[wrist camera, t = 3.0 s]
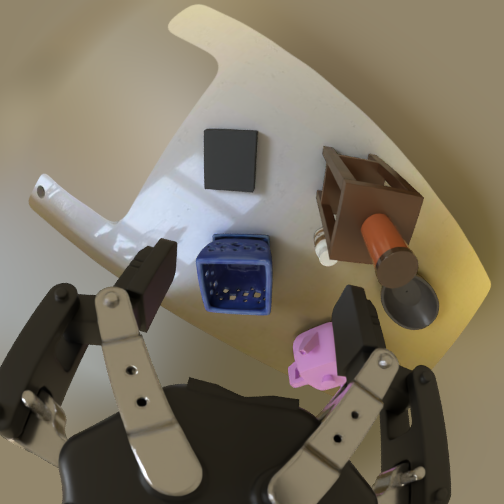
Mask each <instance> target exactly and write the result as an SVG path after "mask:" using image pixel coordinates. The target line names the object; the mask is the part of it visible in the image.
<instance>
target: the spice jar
mask: <svg viewBox="0 0 504 504" xmlns="http://www.w3.org/2000/svg"><path fill="white" fill-rule="evenodd" d="M361 235H362V238H363V240H364V243H365V245H366V248H367V250H368V253H369V255H370V258H371V260H372V263H373V265H374V268H375V273H376V276H377V279H378V281H379V283H380V284H381V285H383V286H384V287H387V288H399V287H402V286H404V285H406V284H407V283H409V282H410V281H411V280H412V279H413V278H414V276H415V275H416V273H417V270H418V260H417V258H416V256H415V254H414V253H413V252H412V251H411V250H410V248H409V246H408V245H407V243H406V241H405V240H404V238H403V237H402V235H401V234H400V232H399V230H398V229H397V227H396V226H395V224H394V223H393V221H392V220H391V218H390V217H388V216H387V215H385V214H374V215H371V216H370V217H368V218H367V219H366V220H365V221H364V223H363V225H362V227H361Z"/></svg>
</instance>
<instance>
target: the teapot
mask: <svg viewBox="0 0 504 504" xmlns="http://www.w3.org/2000/svg"><path fill="white" fill-rule="evenodd" d="M293 352H294V358H295V362H294V363H293V364H292V365H290V366H289V367H288V372H289V380H290V385H292V386H293V387H294V388H296V387H300V386H303V385H307V384H309V385H311V386H313V387H314V388H316V389H318V390H327V389H331V388H334V387H337V386H341V387H342V386H343V384H344V383H345V382H346V377H343V376H337V365H336V354H335V344H334V334H333V326H332V322H328V323H325V324H322V325H320V326H317V327H315V328H312V329H310V330H308V331H306V332H303V333H301V334H300V335H298V336H297V337H296V339H295V341H294V344H293ZM299 374H300V375H299ZM300 376H301V377H300Z"/></svg>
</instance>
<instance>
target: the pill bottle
mask: <svg viewBox="0 0 504 504" xmlns="http://www.w3.org/2000/svg"><path fill="white" fill-rule="evenodd" d="M314 243H315V251H316V254H317V256H318V257H319V260H320V262H321V264H322V265H324V266H332V265H334V264H335V263H336V262H337V260H329V254H328V249H327V244H326V239H325V234H324V230H323V228H321V229H319V230H317V231H316V233H315V235H314Z"/></svg>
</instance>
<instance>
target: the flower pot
mask: <svg viewBox="0 0 504 504" xmlns="http://www.w3.org/2000/svg"><path fill="white" fill-rule="evenodd" d="M196 267H197V274H198V280H199V286H200V291H201V295H202V299H203V303H204V306H205V309H206V311H209V312H216V313H227V314H245V315H269V314H270V312H271V303H272V280H273V272H272V256H271V250H270V238H269V236H268V235H258V234H214V235H213V242H211V243H209V244H208V245H207V246H205V247H204V248H203V249H202V251H201V252H200V253H199V255H198V256H197V258H196ZM206 272H207V275H206V276H205V274H206ZM214 283H215V286H214ZM252 288H253V289H254V290H251V289H252ZM224 289H227V290H229V291H228V292H227V293H224V292H223V290H224ZM237 290H240V291H237ZM264 290H265V291H264ZM210 291H211V294H210ZM245 292H246V293H249V294H248V296H243V295H244V293H245ZM255 292H257V293H261V296H260V297H259V298H256V297H254V294H255ZM216 294H217V295H216ZM230 296H236V299H235V300H230ZM220 298H221V299H222V300H220ZM264 298H265V300H263V299H264ZM245 300H247V302H244V301H245ZM259 302H260V303H259Z"/></svg>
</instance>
